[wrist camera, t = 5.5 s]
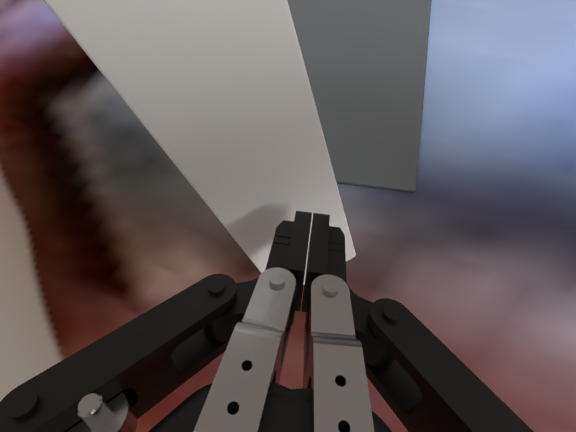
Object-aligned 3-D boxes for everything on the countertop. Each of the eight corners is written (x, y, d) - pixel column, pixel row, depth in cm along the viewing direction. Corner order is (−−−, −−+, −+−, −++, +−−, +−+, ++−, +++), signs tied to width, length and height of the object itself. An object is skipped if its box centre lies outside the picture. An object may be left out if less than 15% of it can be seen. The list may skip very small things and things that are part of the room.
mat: (261, -63, 29) (260, -70, 28) (433, -52, 28) (436, -58, 27) (220, 169, 26) (218, 167, 25) (413, 192, 25) (415, 190, 24)
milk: (357, 257, 21) (168, -489, 4) (279, 299, 21) (-215, -315, 4) (318, 202, 25) (145, -294, 9) (253, 237, 25) (-52, -200, 8)
